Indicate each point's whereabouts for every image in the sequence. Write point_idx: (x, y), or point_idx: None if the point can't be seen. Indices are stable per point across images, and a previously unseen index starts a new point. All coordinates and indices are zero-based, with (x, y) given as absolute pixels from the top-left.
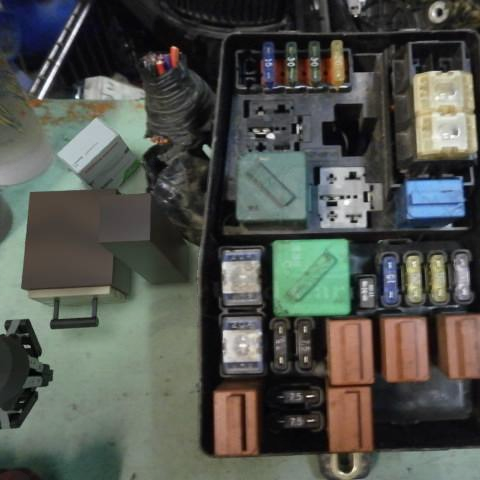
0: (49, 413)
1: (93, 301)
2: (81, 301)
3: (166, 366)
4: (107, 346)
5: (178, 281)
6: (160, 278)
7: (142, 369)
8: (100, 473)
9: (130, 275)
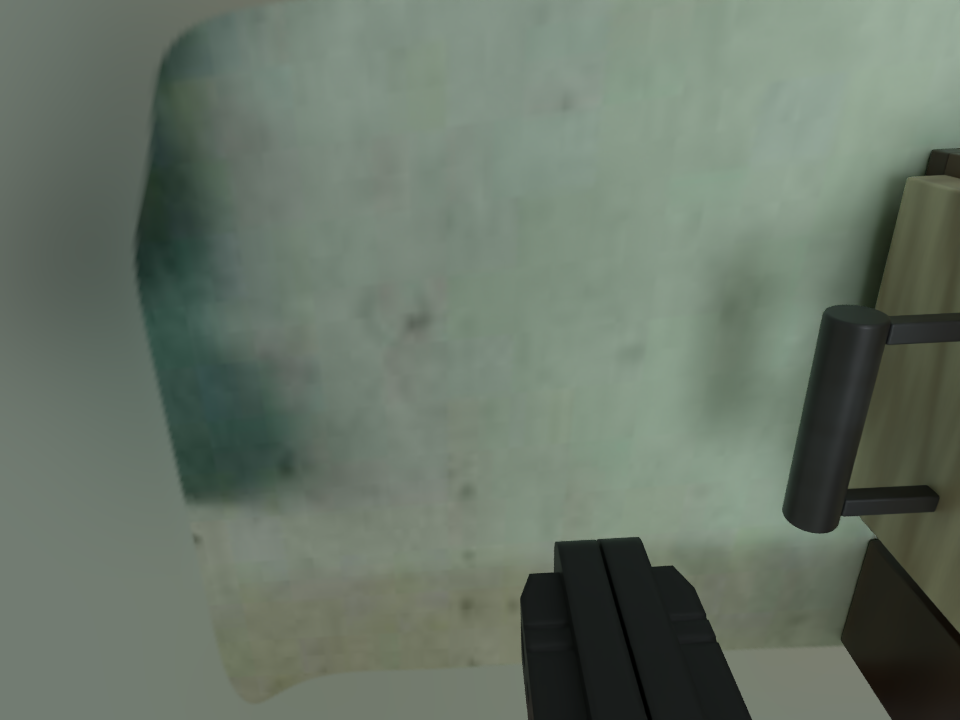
0: (384, 218)
1: (921, 501)
2: (913, 386)
3: None
4: (657, 418)
5: (859, 637)
6: (913, 658)
7: (555, 535)
8: (173, 438)
9: None
